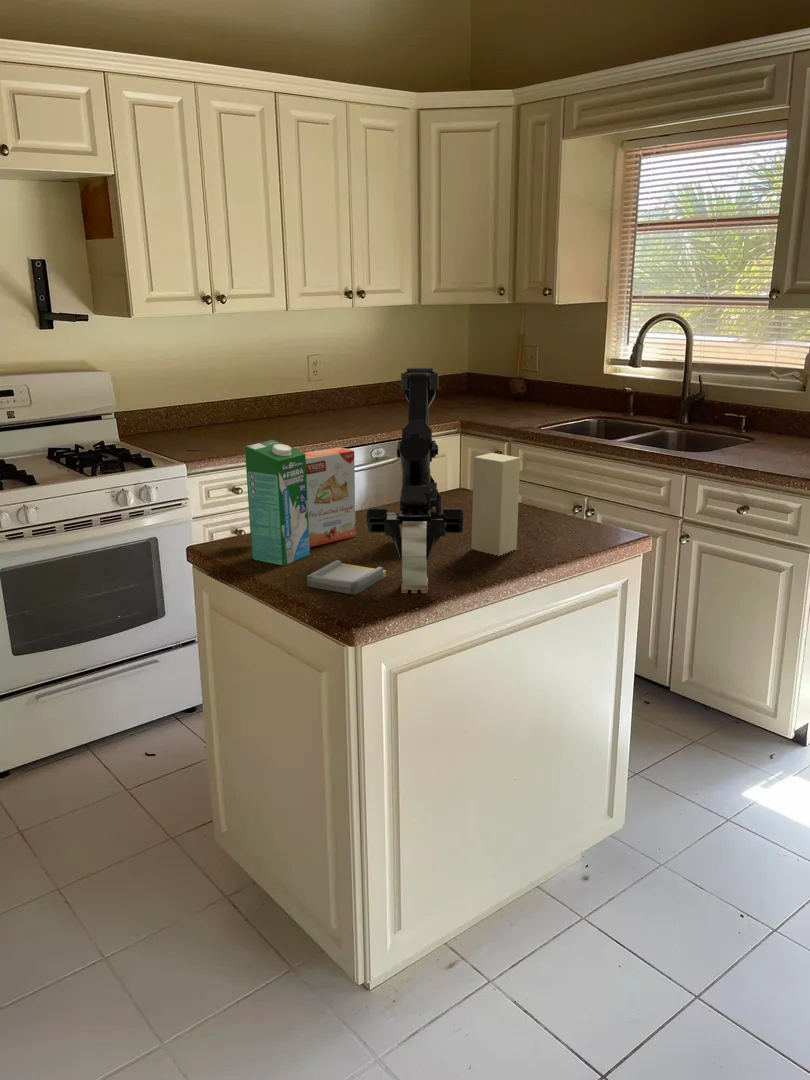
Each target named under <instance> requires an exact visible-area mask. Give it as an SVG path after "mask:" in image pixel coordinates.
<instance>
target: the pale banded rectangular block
mask: <svg viewBox="0 0 810 1080" xmlns="http://www.w3.org/2000/svg"><path fill="white" fill-rule="evenodd" d="M401 537H402V539H401V542H402V560H401V573H402V576H401V577H402V578H401V583H400V584H401V589H400V590H401V591H400V592H401V594H408V593H409V591H411V592H410V594H418V592H419V591H420V593H421V594H428V590H429V589H428V587H429V586H428V585H429V579H428V578H429V576H428V572H427V571H428V568H427V567H428V564H427V563H428V560H426V549H427V521H403V523H402V524H401Z"/></svg>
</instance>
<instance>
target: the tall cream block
mask: <svg viewBox="0 0 810 1080" xmlns="http://www.w3.org/2000/svg"><path fill="white" fill-rule="evenodd" d="M520 471H521V458H520V457H517V456H512V455H506V454H500V453H495V452H488V453H484V454H481V455H476V456H474V457H473V475H472V476H473V477H472V479H473V480H472V515H471V521H472V522H471V550H474V551H477V552H481V553H484V554H488V553H489V554H490V555H492V554H493V556H496V555H497V557H501V556H503V554H504V555H506V554H509V553H511V552H510V551H512V552H514V551H513V550H515V551H516V550H517V547H518V546H517V545H518V543H517V541H518V520H519V500H520V499H519V497H520V495H519V494H520V493H519V492H520V477H521V476H520ZM508 552H509V553H508ZM505 553H506V554H505ZM489 554H488V555H489ZM500 555H501V556H500Z"/></svg>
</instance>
